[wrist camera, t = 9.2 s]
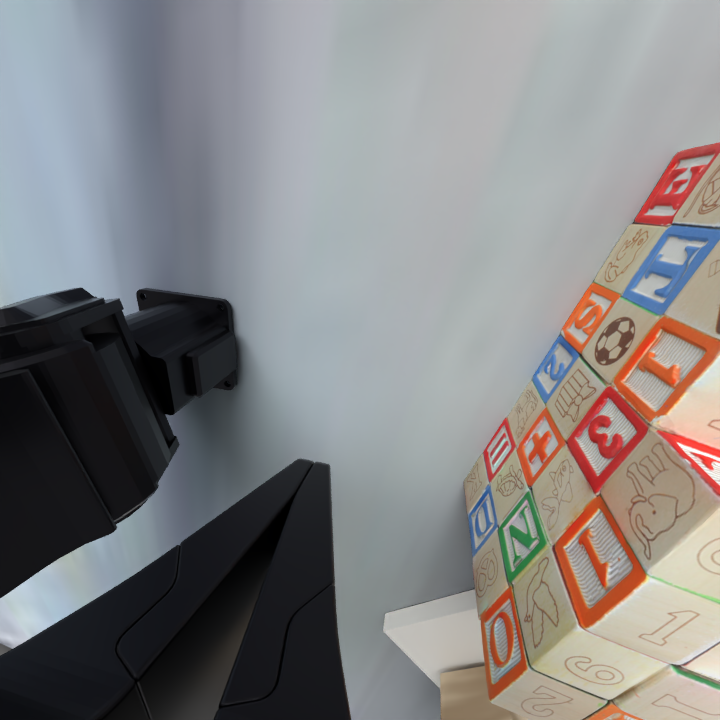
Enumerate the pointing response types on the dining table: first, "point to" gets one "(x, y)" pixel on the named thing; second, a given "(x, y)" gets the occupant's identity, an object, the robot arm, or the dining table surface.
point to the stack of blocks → (614, 485)
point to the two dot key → (469, 697)
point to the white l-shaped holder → (439, 634)
